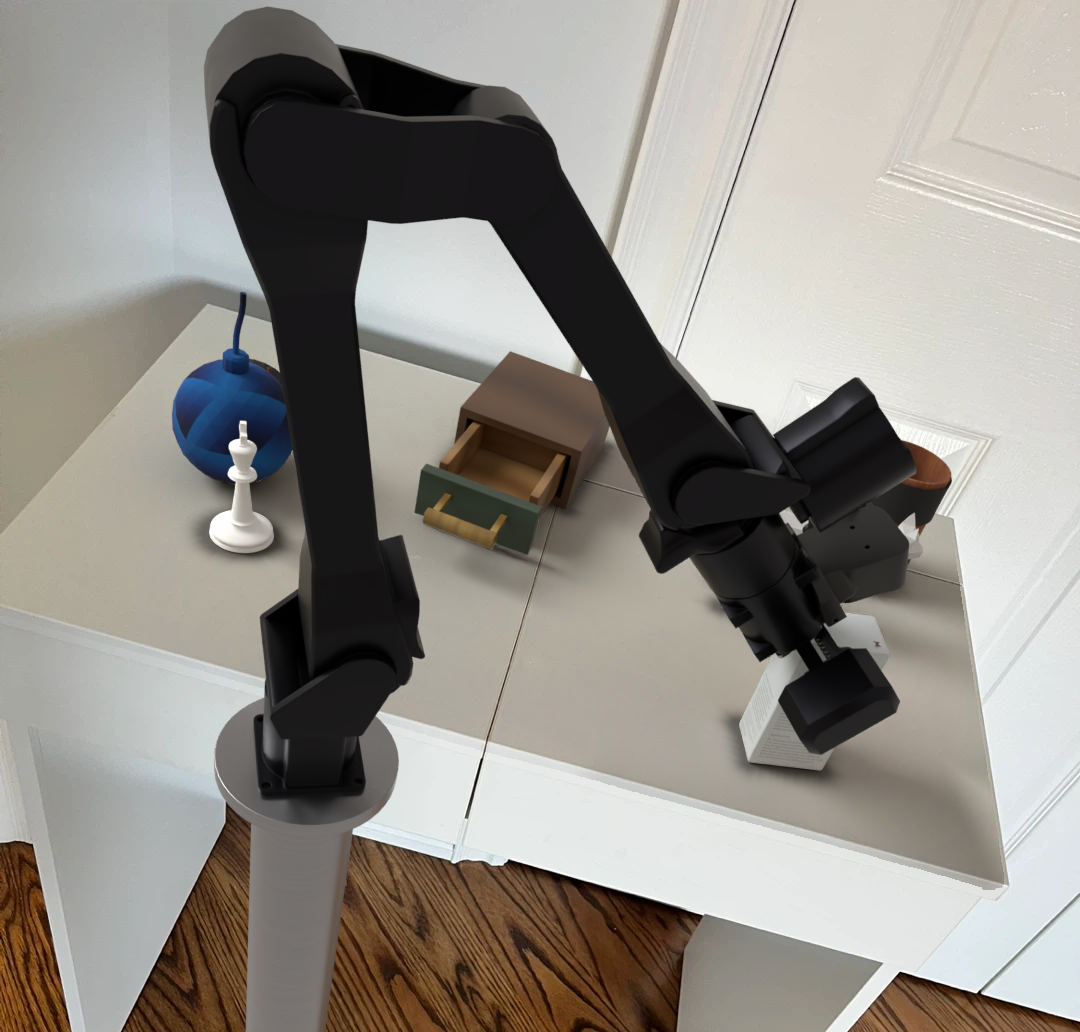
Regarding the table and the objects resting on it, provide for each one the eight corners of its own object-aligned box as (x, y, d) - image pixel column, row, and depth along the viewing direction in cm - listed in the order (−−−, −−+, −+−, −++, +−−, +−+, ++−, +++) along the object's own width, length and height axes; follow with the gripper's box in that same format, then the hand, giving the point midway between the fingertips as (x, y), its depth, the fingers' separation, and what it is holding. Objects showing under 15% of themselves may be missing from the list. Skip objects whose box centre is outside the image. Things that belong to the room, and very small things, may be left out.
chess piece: (211, 553, 78) (209, 439, 71) (207, 515, 81) (205, 402, 74) (276, 553, 80) (281, 442, 73) (270, 516, 83) (274, 406, 76)
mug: (782, 517, 101) (830, 411, 93) (897, 556, 100) (956, 453, 92) (774, 563, 94) (825, 454, 86) (897, 605, 94) (960, 500, 86)
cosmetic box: (808, 731, 79) (877, 615, 70) (821, 773, 76) (894, 656, 68) (735, 722, 78) (796, 602, 69) (745, 763, 75) (809, 643, 66)
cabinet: (565, 509, 93) (582, 451, 89) (449, 465, 94) (460, 406, 90) (604, 445, 103) (620, 390, 99) (498, 406, 104) (510, 350, 100)
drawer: (510, 582, 82) (521, 539, 79) (393, 538, 83) (399, 493, 80) (569, 487, 94) (580, 446, 91) (466, 448, 95) (474, 407, 92)
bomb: (310, 452, 91) (321, 288, 80) (275, 519, 83) (282, 346, 73) (201, 426, 90) (198, 256, 80) (156, 490, 82) (145, 311, 72)
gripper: (950, 585, 53) (1005, 721, 65) (802, 400, 65) (870, 542, 77) (765, 695, 56) (848, 807, 67) (656, 498, 68) (742, 622, 79)
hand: (829, 685), depth 73 cm, fingers open, 6 cm apart
